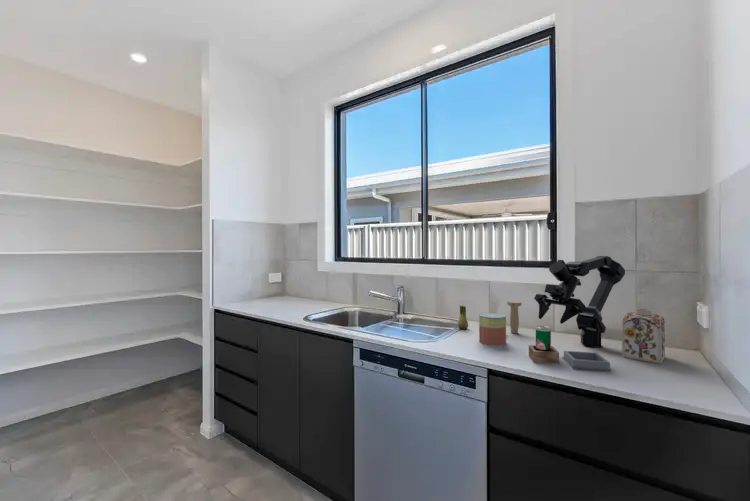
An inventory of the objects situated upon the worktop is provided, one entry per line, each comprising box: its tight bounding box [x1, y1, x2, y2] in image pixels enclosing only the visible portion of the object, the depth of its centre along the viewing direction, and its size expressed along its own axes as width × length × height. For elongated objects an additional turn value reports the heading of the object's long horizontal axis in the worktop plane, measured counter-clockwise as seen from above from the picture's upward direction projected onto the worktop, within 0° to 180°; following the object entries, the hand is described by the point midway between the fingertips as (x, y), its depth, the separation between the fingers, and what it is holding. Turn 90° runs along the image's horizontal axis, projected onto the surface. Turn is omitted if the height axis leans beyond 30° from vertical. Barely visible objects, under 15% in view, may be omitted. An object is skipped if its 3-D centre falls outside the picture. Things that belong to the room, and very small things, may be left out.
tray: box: [563, 350, 611, 372], centre depth 120 cm, size 11×11×3 cm
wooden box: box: [528, 344, 560, 365], centre depth 126 cm, size 8×8×4 cm
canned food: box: [478, 312, 507, 347], centre depth 149 cm, size 11×11×12 cm
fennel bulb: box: [457, 304, 469, 330], centre depth 176 cm, size 6×5×12 cm
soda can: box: [535, 325, 552, 352], centre depth 126 cm, size 5×5×12 cm
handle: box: [506, 300, 522, 334], centre depth 166 cm, size 5×6×15 cm
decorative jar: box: [621, 308, 666, 365], centre depth 128 cm, size 12×12×18 cm
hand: (549, 320), depth 132 cm, fingers open, 9 cm apart
